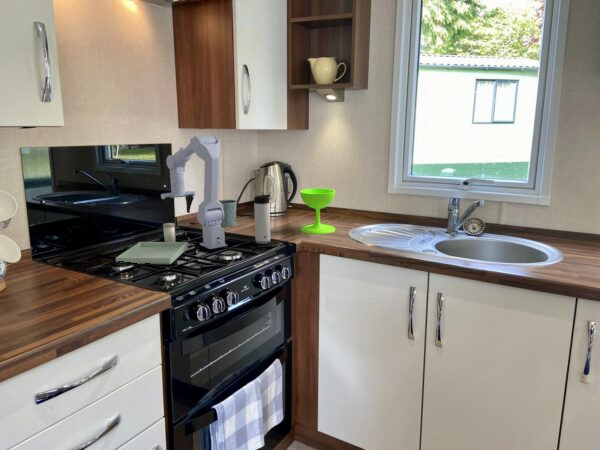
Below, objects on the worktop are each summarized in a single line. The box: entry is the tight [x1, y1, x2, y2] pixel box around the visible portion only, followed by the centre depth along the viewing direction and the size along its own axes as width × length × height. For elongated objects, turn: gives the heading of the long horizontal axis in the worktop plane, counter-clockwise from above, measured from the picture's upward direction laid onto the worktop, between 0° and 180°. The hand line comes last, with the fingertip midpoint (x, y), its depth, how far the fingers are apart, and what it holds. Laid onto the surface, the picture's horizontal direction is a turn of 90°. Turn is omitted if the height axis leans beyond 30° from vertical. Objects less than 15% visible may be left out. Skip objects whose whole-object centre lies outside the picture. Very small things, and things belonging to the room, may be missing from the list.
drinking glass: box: [217, 199, 238, 228], centre depth 229 cm, size 10×10×12 cm
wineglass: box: [299, 188, 336, 235], centre depth 218 cm, size 16×16×18 cm
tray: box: [115, 241, 189, 265], centre depth 183 cm, size 22×20×2 cm
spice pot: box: [162, 222, 177, 242], centre depth 200 cm, size 5×5×8 cm
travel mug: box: [253, 194, 271, 245], centre depth 198 cm, size 6×7×20 cm
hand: (179, 213), depth 211 cm, fingers open, 7 cm apart
